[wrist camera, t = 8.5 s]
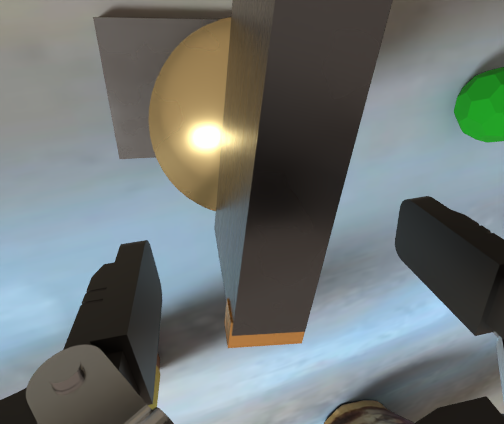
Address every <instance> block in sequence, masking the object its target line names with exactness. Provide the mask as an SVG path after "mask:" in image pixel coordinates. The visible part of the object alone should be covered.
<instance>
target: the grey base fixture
mask: <svg viewBox="0 0 504 424" xmlns="http://www.w3.org/2000/svg"><path fill="white" fill-rule="evenodd" d="M93 19H94V24H95V29H96V35H97V40H98V45H99V51H100V56H101V62H102V67H103V72H104V78H105V83H106V88H107V94H108V99H109V105H110V110H111V115H112V121H113V126H114V131H115V137H116V142H117V148H118V153H119V158H120V159H131V158H152V157H156V155H155V152H154V150H153V147H152V142H151V138H150V132H149V105H150V100H151V95H152V91H153V88H154V85H155V82H156V79H157V77H158V75H159V73H160V71H161V69H162V67H163V65H164V63H165V62H166V60H167V59H168V57H169V56H170V55H171V53H172V52H173V50H174V49H175V48H176V47H177V46H178V45H179V44H180V43H181V41H183V40H184V39H185V38H186V37H187V36H189V35H190V34H191V33H193V32H194V31H196V30H198V29H199V28H201V27H203V26H205V25H208V24H210V23H213V22H215V21H218V20H220V19H168V18H115V17H93Z"/></svg>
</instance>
